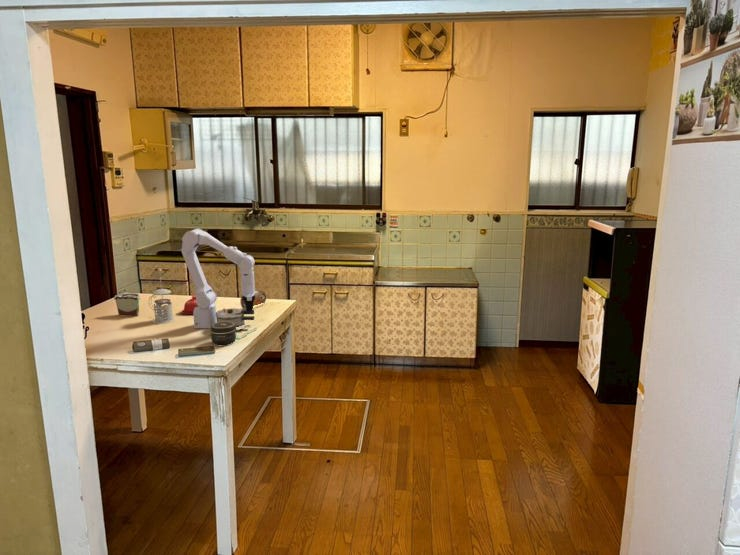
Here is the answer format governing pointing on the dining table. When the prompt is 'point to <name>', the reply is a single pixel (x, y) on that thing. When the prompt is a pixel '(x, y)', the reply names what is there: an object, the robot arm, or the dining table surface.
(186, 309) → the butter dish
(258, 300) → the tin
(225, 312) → the cooker lid
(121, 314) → the food container
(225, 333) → the jar
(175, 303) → the dining table surface
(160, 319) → the french press
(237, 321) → the cooker pot
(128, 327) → the dining table surface
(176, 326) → the dining table surface
